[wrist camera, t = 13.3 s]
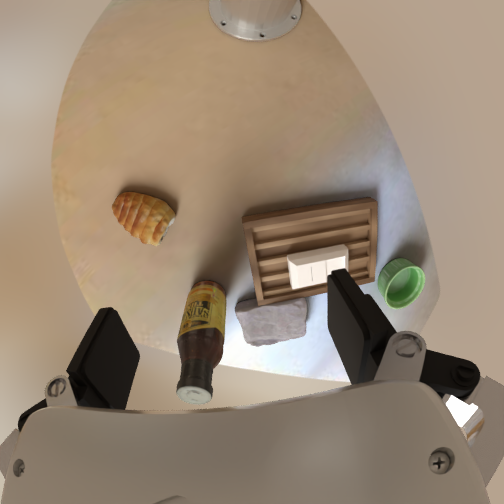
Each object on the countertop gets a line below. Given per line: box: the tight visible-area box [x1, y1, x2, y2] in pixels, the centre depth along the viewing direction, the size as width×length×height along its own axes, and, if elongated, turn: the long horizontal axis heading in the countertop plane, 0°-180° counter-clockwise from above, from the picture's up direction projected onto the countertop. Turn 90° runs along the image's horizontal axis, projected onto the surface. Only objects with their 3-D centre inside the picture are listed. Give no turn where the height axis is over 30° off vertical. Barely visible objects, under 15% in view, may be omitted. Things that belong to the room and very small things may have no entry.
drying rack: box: [242, 197, 377, 306], centre depth 41 cm, size 14×20×2 cm
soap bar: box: [287, 244, 348, 289], centre depth 40 cm, size 5×9×3 cm, turn 100°
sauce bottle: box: [176, 281, 226, 405], centre depth 35 cm, size 7×6×20 cm
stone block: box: [235, 297, 307, 346], centre depth 46 cm, size 12×5×10 cm
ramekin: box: [378, 258, 425, 309], centre depth 44 cm, size 9×9×4 cm
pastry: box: [112, 192, 175, 246], centre depth 36 cm, size 9×7×4 cm
